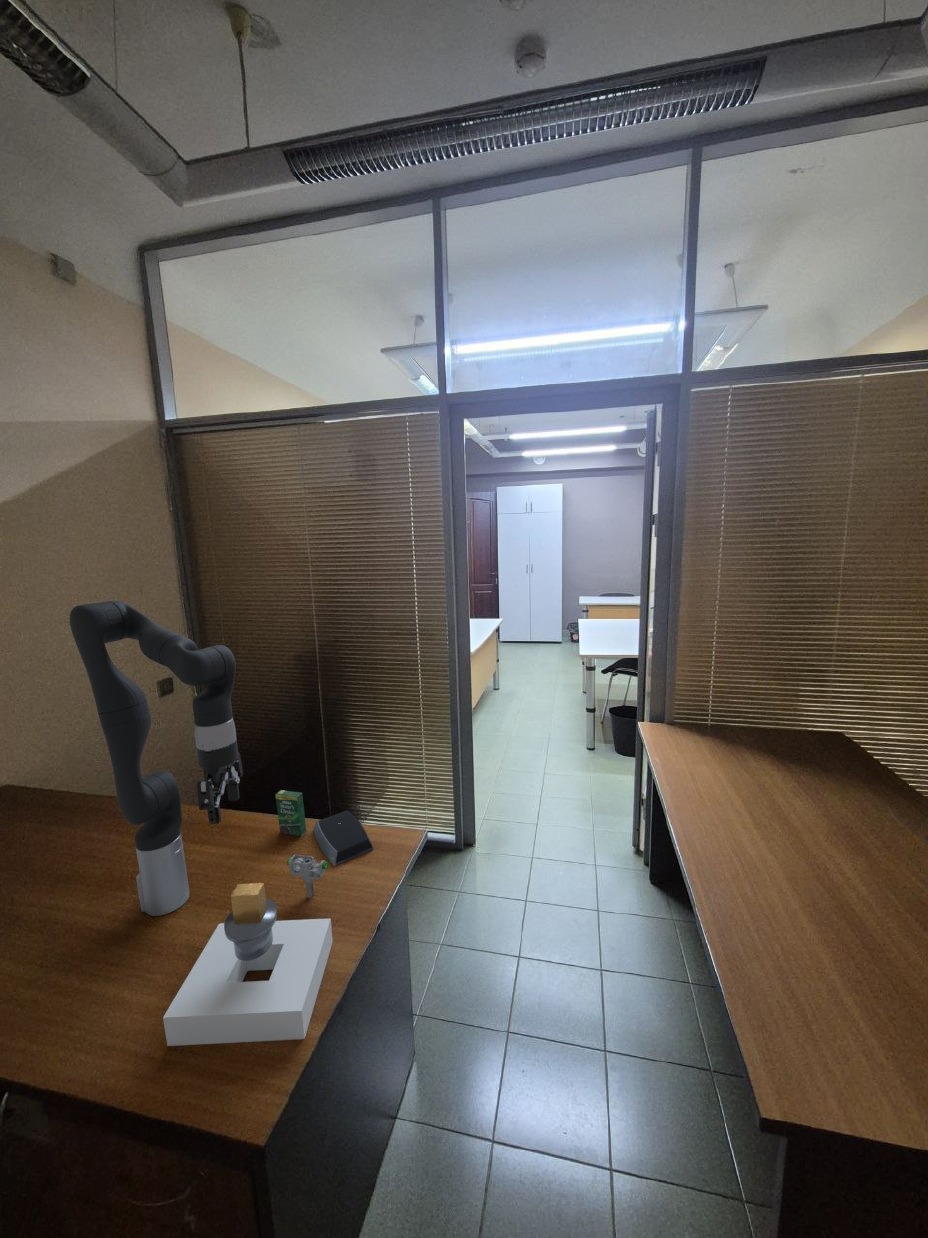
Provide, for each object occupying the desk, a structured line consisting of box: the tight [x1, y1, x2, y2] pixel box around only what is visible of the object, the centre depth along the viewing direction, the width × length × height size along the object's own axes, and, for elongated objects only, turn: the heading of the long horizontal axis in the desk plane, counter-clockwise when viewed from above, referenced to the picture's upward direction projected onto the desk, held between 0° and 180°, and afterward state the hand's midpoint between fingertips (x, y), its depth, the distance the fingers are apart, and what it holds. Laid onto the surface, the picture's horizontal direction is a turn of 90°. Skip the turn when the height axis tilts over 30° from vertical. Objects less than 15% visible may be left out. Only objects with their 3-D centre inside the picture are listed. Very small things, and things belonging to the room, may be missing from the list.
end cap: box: [223, 882, 278, 961], centre depth 89 cm, size 9×9×12 cm
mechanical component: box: [286, 854, 329, 899], centre depth 114 cm, size 3×10×10 cm, turn 78°
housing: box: [162, 918, 333, 1047], centre depth 91 cm, size 24×20×6 cm
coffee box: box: [275, 789, 307, 837], centre depth 139 cm, size 8×3×13 cm, turn 73°
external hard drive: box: [312, 810, 374, 866], centre depth 136 cm, size 13×19×4 cm
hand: (225, 811), depth 100 cm, fingers open, 8 cm apart
